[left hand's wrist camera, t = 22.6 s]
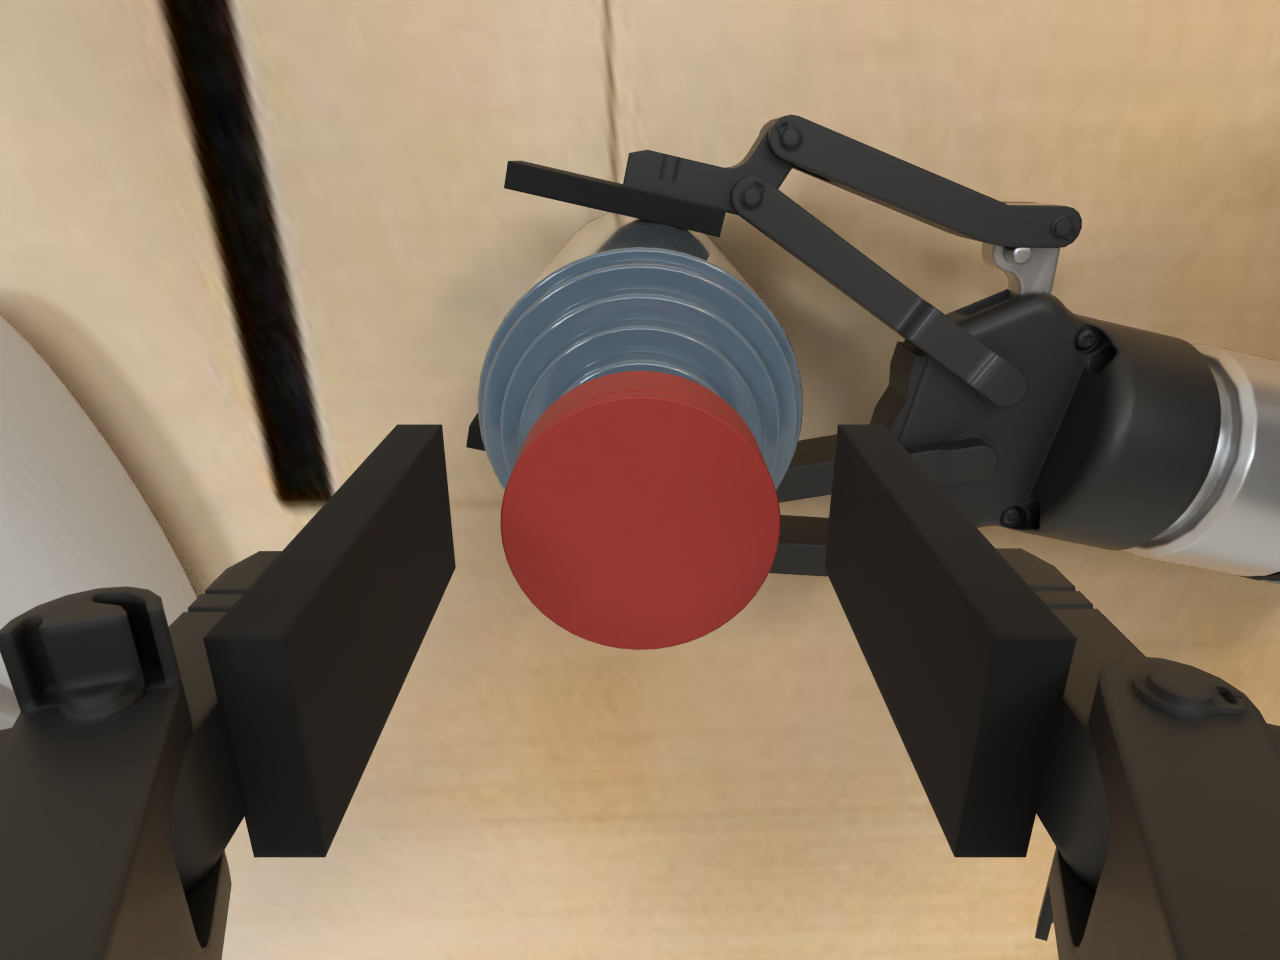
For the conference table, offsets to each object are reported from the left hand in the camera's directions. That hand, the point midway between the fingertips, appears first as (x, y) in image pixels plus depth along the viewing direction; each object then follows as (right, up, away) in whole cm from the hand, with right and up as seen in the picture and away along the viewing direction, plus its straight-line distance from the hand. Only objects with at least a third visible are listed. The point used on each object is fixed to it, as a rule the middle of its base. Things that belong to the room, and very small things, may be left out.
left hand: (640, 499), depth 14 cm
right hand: (-5, +6, +12) cm, 14 cm away
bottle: (0, +7, +18) cm, 20 cm away
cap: (0, 0, -1) cm, 1 cm away
